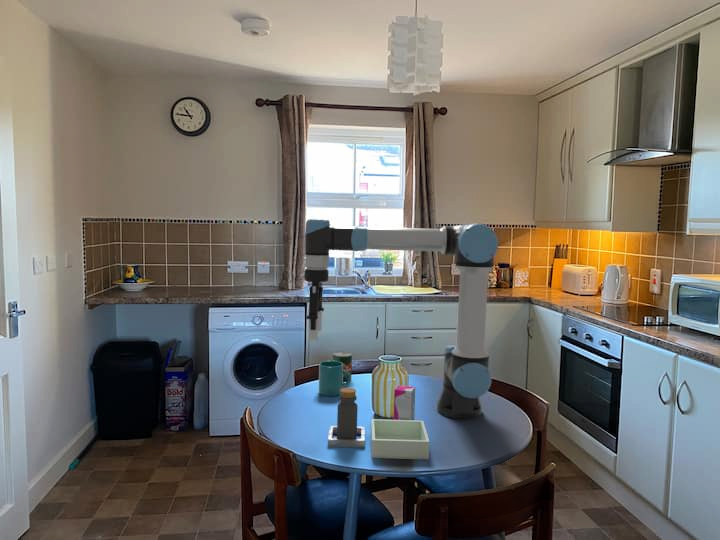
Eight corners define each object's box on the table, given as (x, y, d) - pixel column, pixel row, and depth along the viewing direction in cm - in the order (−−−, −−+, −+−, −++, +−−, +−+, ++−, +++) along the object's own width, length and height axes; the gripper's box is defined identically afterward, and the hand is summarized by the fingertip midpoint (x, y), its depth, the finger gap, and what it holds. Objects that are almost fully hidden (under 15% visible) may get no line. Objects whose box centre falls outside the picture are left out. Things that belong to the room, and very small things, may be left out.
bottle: (336, 435, 159) (337, 386, 158) (355, 435, 160) (357, 386, 158) (337, 443, 153) (338, 393, 152) (357, 443, 154) (358, 393, 153)
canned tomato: (344, 384, 211) (345, 357, 210) (328, 380, 215) (328, 354, 214) (355, 379, 218) (355, 353, 217) (338, 376, 222) (339, 350, 221)
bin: (422, 436, 160) (423, 420, 160) (428, 459, 145) (429, 441, 144) (370, 435, 160) (371, 419, 160) (371, 457, 145) (372, 440, 144)
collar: (364, 433, 162) (364, 426, 162) (364, 447, 151) (364, 440, 151) (330, 432, 162) (330, 425, 162) (327, 446, 151) (327, 439, 151)
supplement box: (414, 420, 173) (416, 386, 172) (410, 427, 168) (411, 391, 167) (397, 418, 175) (398, 384, 174) (392, 424, 169) (393, 389, 169)
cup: (348, 398, 194) (349, 367, 193) (316, 395, 196) (317, 366, 195) (351, 390, 203) (352, 361, 202) (321, 388, 204) (321, 360, 204)
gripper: (308, 265, 178) (307, 327, 180) (299, 271, 154) (298, 343, 155) (331, 265, 178) (329, 328, 180) (325, 272, 154) (324, 344, 155)
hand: (315, 335), depth 168 cm, fingers open, 13 cm apart
